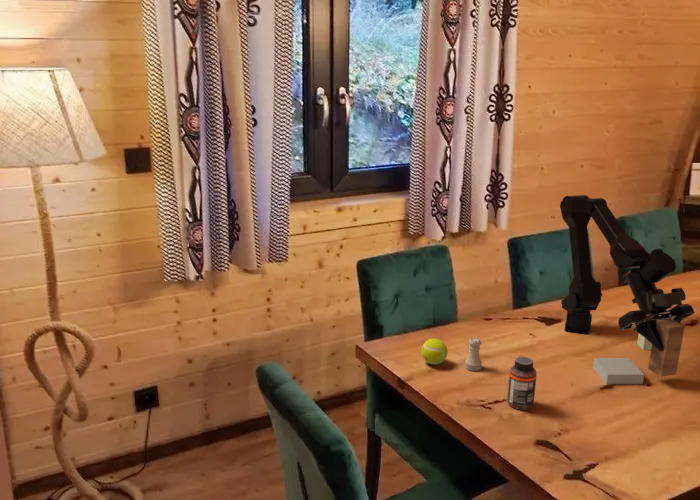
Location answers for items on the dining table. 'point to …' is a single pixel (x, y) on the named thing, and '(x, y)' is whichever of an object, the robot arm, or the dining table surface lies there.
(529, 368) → the supplement bottle
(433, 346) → the tennis ball
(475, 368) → the rook chess piece
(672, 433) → the dining table surface
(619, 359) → the slate slab
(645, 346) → the sage cube
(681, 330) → the walnut pillar
